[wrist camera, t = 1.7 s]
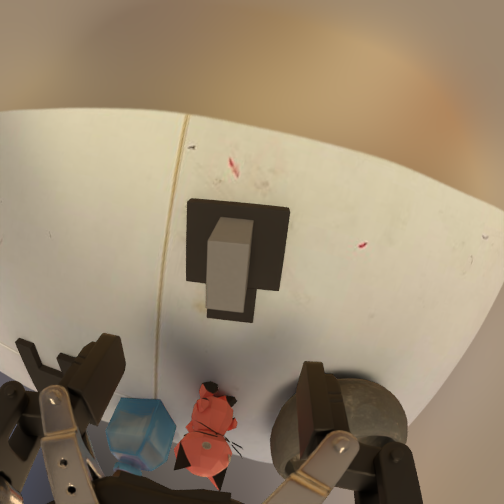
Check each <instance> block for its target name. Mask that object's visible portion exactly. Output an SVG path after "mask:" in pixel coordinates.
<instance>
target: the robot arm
mask: <svg viewBox="0 0 504 504" xmlns="http://www.w3.org/2000/svg"><path fill="white" fill-rule="evenodd" d="M125 366H126V361H125V357H124V352H123V347H122V343H121V338H120V337H119V336H116V335H112V334H107V333H103V334H102V335H101V336H100V337H99V339H98V340H97V342H93V341H92V342H91V343H89V344H88V345H86V346H85V347H83V349H82V350H81V352H80V353H79V354H78V356H77V357H76V359H75V360H74V363H72V364H71V366H70V367H69V369H68V370H67V372H66V373H65V375H64V376H63V378H62V379H61V381H60V382H59V383H58V385H51V386H48V387H46V388H44V389H43V390H42V391H41V392H32V391H25V389H24V387H23V385H22V384H21V383H19V382H17V381H9V382H6V383H5V384H3V385H2V386H1V388H0V504H23V497H22V495H21V491H22V488H23V486H24V483H25V481H26V478H27V476H28V473H29V471H30V469H31V467H32V464H33V462H34V460H35V457H36V455H37V453H38V451H39V449H40V446H41V447H42V452H43V457H44V462H45V466H46V471H47V475H48V479H49V483H50V486H51V490H52V494H53V497H54V500H53V501H51V502H49V503H47V504H244V503H241V502H239V501H237V500H234V499H231V493H228V492H220V491H212V490H205V489H197V490H171V489H169V488H167V487H165V486H163V485H160V484H158V483H156V482H154V481H152V480H150V479H148V478H146V477H142V476H139V475H135V474H132V473H128V472H125V471H122V470H121V472H120V475H119V476H107V477H105V476H104V474H103V472H102V470H101V468H100V466H99V464H98V461H97V459H96V456H95V453H94V450H93V447H92V444H91V441H90V438H89V434H88V431H87V429H86V428H87V426H88V424H89V423H90V424H93V425H96V426H98V424H99V422H100V420H101V418H102V416H103V414H104V412H105V410H106V408H107V406H108V404H109V402H110V400H111V398H112V396H113V394H114V392H115V390H116V388H117V386H118V384H119V382H120V380H121V378H122V376H123V374H124V371H125ZM296 404H297V418H298V433H299V450H300V460H305V462H304V463H303V464H302V465H301V466H300V467H299V468H298V469H297V470H296V471H295V472H293V473H292V474H290V475H289V476H288V477H287V478H286V480H285V481H284V482H283V483H282V484H281V485H280V486H279V487H278V488H277V489H276V490H275V491H274V492H273V493H272V494H271V495H270V496H269V497H268V498H267V499H266V500H265V501H264V502H263V503H262V504H322V503H323V501H324V500H325V499H326V498H327V496H328V495H329V493H330V492H331V490H332V489H333V488H334V487H339V488H343V489H349V490H354V498H355V504H423V501H422V495H421V491H420V486H419V481H418V477H417V472H416V468H415V463H414V459H413V455H412V452H411V450H410V449H409V447H408V446H406V445H405V444H403V443H401V442H389V443H387V444H385V445H384V446H383V447H382V448H381V447H376V446H371V445H366V444H363V443H361V442H359V441H358V440H357V438H356V437H355V436H354V435H353V434H351V432H350V429H349V424H348V419H347V415H346V410H345V405H344V402H343V396H342V392H341V387H340V383H339V382H338V380H337V379H336V378H335V376H334V375H333V374H325V373H324V368H323V363H322V362H310V361H305V362H304V363H303V367H302V370H301V374H300V377H299V381H298V384H297V390H296ZM16 424H17V426H16V428H15V430H14V432H13V434H12V436H11V437H10V434H11V433H12V431H13V429H14V427H15V425H16ZM9 437H10V439H9Z"/></svg>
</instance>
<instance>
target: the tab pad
mask: <svg viewBox="0 0 504 504" xmlns="http://www.w3.org/2000/svg"><path fill="white" fill-rule="evenodd" d="M289 216H290V210H289V208H287V207H278V206H269V205H260V204H250V203H239V202H229V201H217V200H205V199H193V198H191V199H190V200H189V201H188V202H187V232H186V281H192V282H200V283H206V308H207V318H214V319H222V320H230V321H239V322H248V323H253V316H254V307H255V299H256V290H257V289H263V290H273V291H279V287H280V280H281V273H282V266H283V260H284V253H285V246H286V238H287V231H288V224H289Z"/></svg>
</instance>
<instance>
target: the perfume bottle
mask: <svg viewBox="0 0 504 504" xmlns="http://www.w3.org/2000/svg"><path fill="white" fill-rule="evenodd" d="M175 430H176V425H175V423H174V422H173V420H172V419H171V417H170V415H169V414H168V412H167V410H166V409H165V407H164V405H163V404H162V402H161V400H156V399H135V398H121V399H120V401H119V403H118V405H117V407H116V409H115V411H114V414H113V416H112V418H111V420H110V422H109V424H108V427H107V429H106V435H107V440H108V444H109V448H110V452H111V453H112V454H113V455H114V456H115V457H116V458H117V459H118V460H119V462H117V463H115V466H114V468H113V470H114V472H115V473H114V474H113V476H119V475H120V472H121V470H122V471H125V472H128V473H132V474H135V475H139V476H142V473H141V470H146V471H152V470H154V469H156V468H157V467H159V466H160V465H162V464H163V463H165V462H166V461H167V459H168V455H169V451H170V448H171V444H172V441H173V437H174V433H175Z"/></svg>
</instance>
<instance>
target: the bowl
mask: <svg viewBox="0 0 504 504" xmlns="http://www.w3.org/2000/svg"><path fill="white" fill-rule="evenodd" d="M337 380H338V382H339V383H340V387H341V392H342V396H343V402H344V405H345V410H346V415H347V419H348V424H349V429H350V432H351V434H353V435H354V436H355V437H356V438H357V440H358V441H359V442H361V443H363V444H366V445H371V446H376V447H381V448H382V447H383V446H384V445H385V444H387V443H389V442H401V443H403V444H406V441H407V418H406V415H405V411H404V410H403V407H402V405H401V404H400V402H399V401H398V399H397V398H396V397H395V396H394V395H393V394H392V393H391V392H390V391H388V390H387V389H386V388H384V387H383V386H381V385H379V384H377V383H374V382H371V381H368V380H365V379H353V378H349V379H337ZM270 447H271V456H272V460H273V464H274V466H275V468H276V470H277V472H278V473H279V474H280V475H281V476H282V477H283V478H284V479H285V480H286V478H287V477H288V476H289V475H290V474H292V473H293V472H295V471H296V470H297V469H298V468H299V467H300V466H301V465H302V464H303V463H304V462H305V460H300V450H299V433H298V418H297V404H296V394H295V395H294V396H292V397H291V398H290V399H289V400H288V401H287V402H286V404H285V405H284V406H283V407H282V409H281V411H280V413H279V415H278V417H277V419H276V421H275V423H274V426H273V428H272V432H271V437H270Z"/></svg>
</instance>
